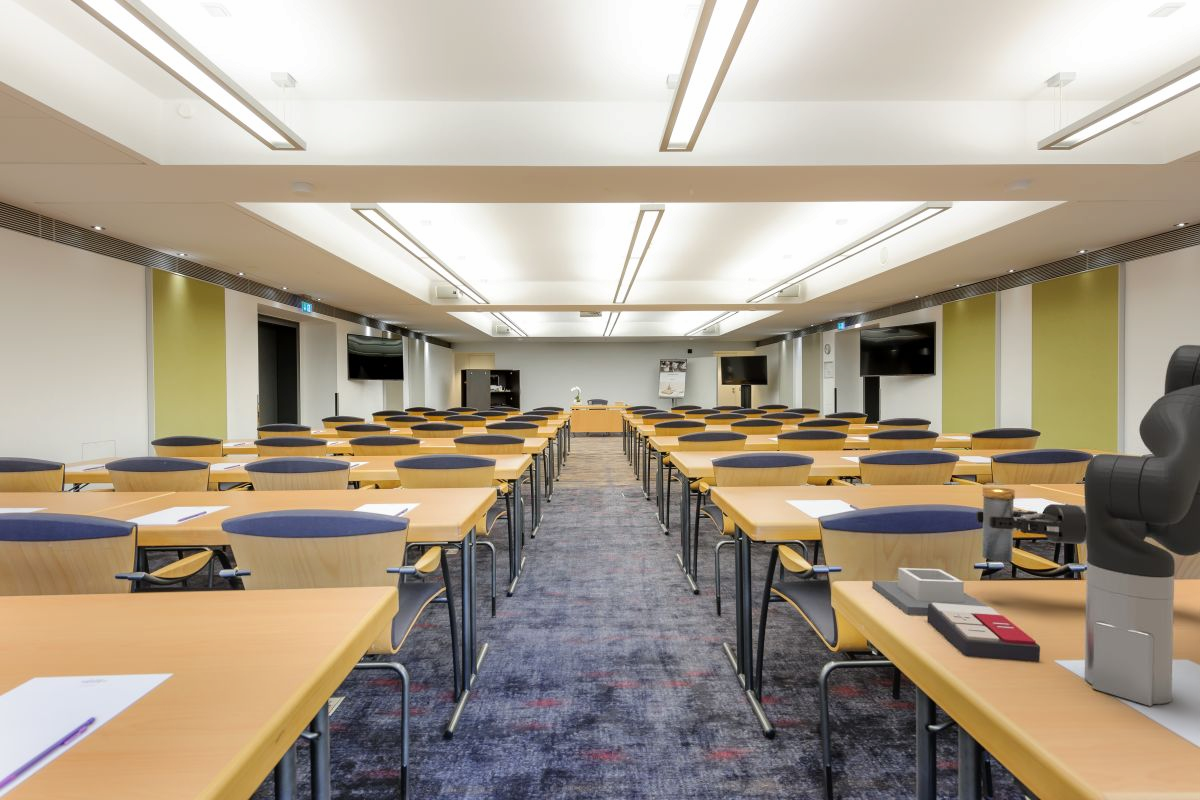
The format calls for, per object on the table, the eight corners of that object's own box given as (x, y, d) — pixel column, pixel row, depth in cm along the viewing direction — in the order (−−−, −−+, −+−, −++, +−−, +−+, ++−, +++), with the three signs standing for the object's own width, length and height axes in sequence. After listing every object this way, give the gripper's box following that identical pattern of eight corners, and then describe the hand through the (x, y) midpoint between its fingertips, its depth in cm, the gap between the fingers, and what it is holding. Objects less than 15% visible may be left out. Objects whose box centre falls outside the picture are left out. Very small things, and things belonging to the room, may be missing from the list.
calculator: (966, 636, 92) (927, 599, 107) (964, 662, 92) (926, 621, 107) (1042, 642, 90) (992, 603, 105) (1040, 668, 91) (990, 626, 106)
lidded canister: (1008, 563, 113) (1010, 492, 113) (977, 557, 117) (978, 488, 117) (1016, 559, 117) (1018, 489, 117) (986, 553, 121) (987, 486, 121)
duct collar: (994, 618, 109) (995, 589, 109) (907, 614, 110) (908, 585, 110) (947, 590, 125) (948, 564, 125) (872, 587, 126) (872, 562, 126)
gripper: (1056, 499, 122) (967, 495, 125) (1102, 512, 107) (1002, 507, 110) (1055, 535, 122) (966, 530, 124) (1102, 552, 107) (1001, 546, 110)
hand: (983, 519), depth 117 cm, fingers closed on lidded canister, 5 cm apart
